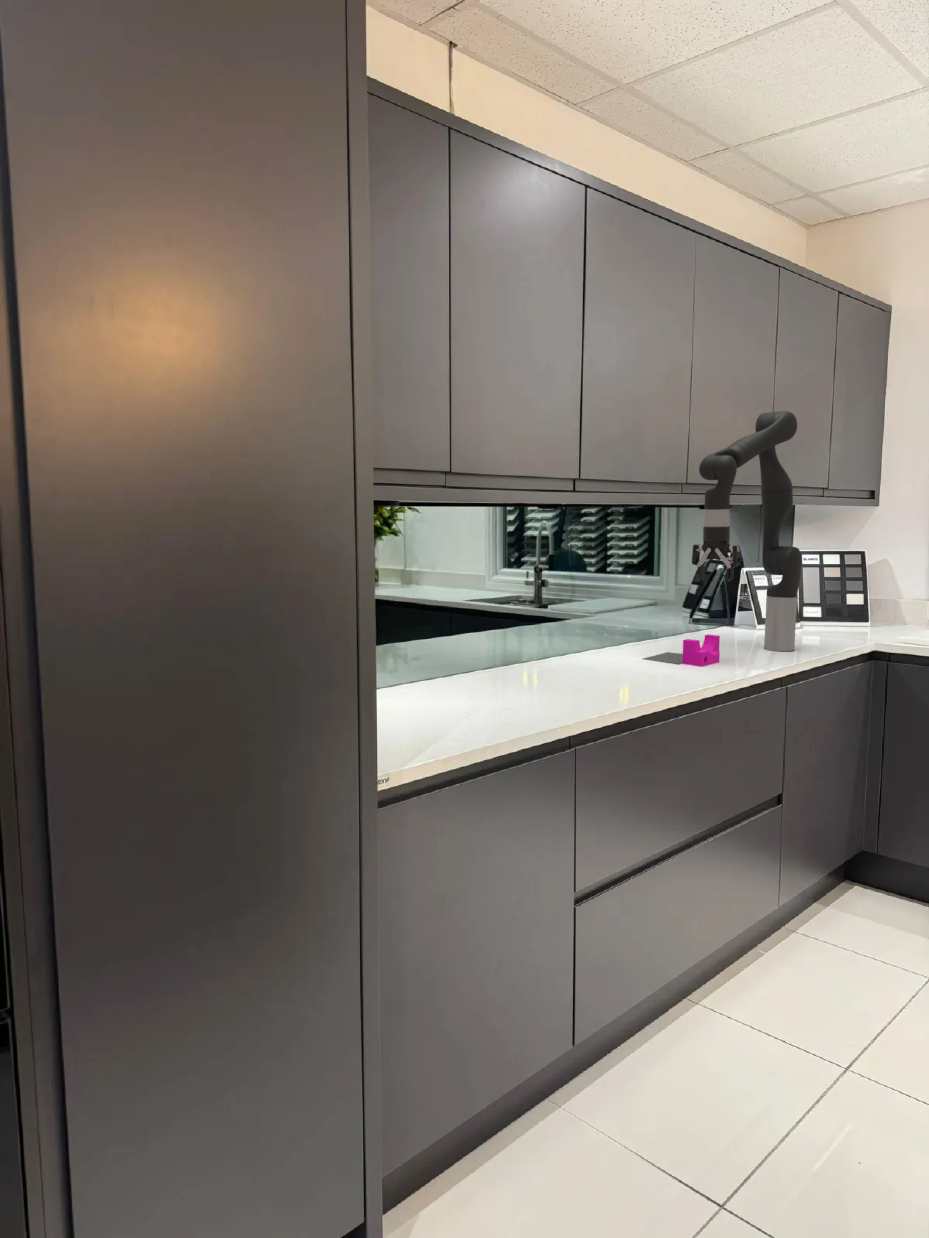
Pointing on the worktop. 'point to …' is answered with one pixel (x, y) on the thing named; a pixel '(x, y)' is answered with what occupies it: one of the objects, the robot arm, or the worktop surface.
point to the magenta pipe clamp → (701, 651)
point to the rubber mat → (667, 658)
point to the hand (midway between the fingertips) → (715, 580)
